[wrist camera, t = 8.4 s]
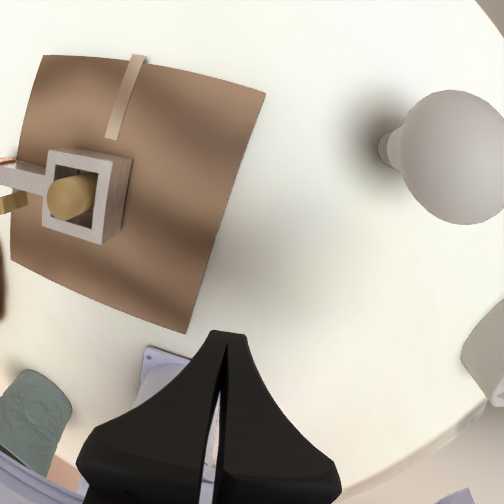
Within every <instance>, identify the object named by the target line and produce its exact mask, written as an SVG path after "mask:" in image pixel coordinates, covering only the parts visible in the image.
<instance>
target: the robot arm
mask: <svg viewBox="0 0 504 504" xmlns="http://www.w3.org/2000/svg"><path fill="white" fill-rule="evenodd" d="M148 355H150V356H151V357H149V356H148ZM219 409H220V414H219V446H218V455H217V463H216V469H215V468H212V467H211V462H212V454H213V446H214V438H215V430H216V422H217V415H218V411H219ZM76 466H77V468H78V470H79V472H80V473H81V478H80V481H79V485H78V488H77V493H75V492H73V491H71V490H68V489H66V488H64V487H62V486H60V485H58V484H56V483H54V482H52V481H50V480H48V479H46V478H44V477H42V476H41V475H39V474H37V473H35V472H33V471H32V470H30V469H28V468H26V467H25V466H23V465H22V464H20V463H18V462H17V461H15V460H13V459H12V458H10V457H9V456H7V455H6V454H4V453H3V452H1V451H0V504H331V503H332V502H333V501H334V500H336V499H337V498H338V496H339V495H340V494H341V493H342V486H341V481H340V477H339V474H338V472H337V469H336V466H335V464H334V462H333V461H332V460H331V459H330V458H328V457H327V456H326V455H324V454H323V453H322V452H321V451H319V450H318V449H317V448H316V447H314V446H313V445H312V444H311V443H310V442H309V441H308V440H307V439H306V438H305V437H304V436H303V435H302V434H301V433H300V432H299V431H298V430H297V429H296V428H295V427H294V425H293V424H292V423H291V422H290V421H289V420H288V419H287V417H286V416H285V415H284V414H283V412H282V411H281V410H280V408H279V407H278V405H277V404H276V402H275V401H274V399H273V398H272V396H271V395H270V393H269V391H268V390H267V388H266V386H265V384H264V382H263V380H262V378H261V376H260V374H259V372H258V370H257V368H256V365H255V363H254V360H253V358H252V355H251V352H250V349H249V345H248V341H247V337H246V336H245V335H244V334H238V333H231V332H225V331H218V330H212V331H210V333H209V335H208V337H207V339H206V340H205V342H204V343H203V345H202V346H201V348H200V349H199V351H198V352H197V353H196V354H195V356H194V357H193V358H192V359H191V360H188V359H185V358H182V357H179V356H176V355H173V354H170V353H167V352H164V351H161V350H158V349H156V348H153V347H147V348H146V349H145V352H144V358H143V364H142V371H141V377H140V384H139V392H138V394H137V397H136V399H135V402H134V404H133V407H132V409H131V410H130V411H128V412H127V413H125V414H123V415H121V416H119V417H117V418H115V419H113V420H110V421H108V422H106V423H104V424H101V425H99V426H96V427H95V428H94V429H93V431H92V432H91V434H90V435H89V436H88V438H87V439H86V441H85V442H84V444H83V446H82V449H81V451H80V453H79V455H78V458H77V460H76ZM435 504H475V503H474V501H473V498H472V496H471V494H470V491H469V489H468V488H464V489H462V490H460V491H457V492H455V493H452V494H450V495H448V496H446V497H444V498H442V499H441V500H439V501H438V502H436V503H435Z"/></svg>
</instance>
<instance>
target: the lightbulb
mask: <svg viewBox="0 0 504 504" xmlns="http://www.w3.org/2000/svg"><path fill="white" fill-rule="evenodd" d="M378 152H379V156H380V158H381V160H382V161H383V162H384V163H385V164H386V165H387V166H389V167H391V168H394V169H395V170H396V171H398V172H399V173H400V174H402V175H403V178H404V180H405V182H406V184H407V186H408V188H409V190H410V192H411V193H412V194H413V196H414V197H415V199H416V200H417V201H418V202H419V203H420V204H421V205H422V206H423V207H424V208H425V209H426V210H427V211H428V212H430V213H431V214H433V215H434V216H436V217H438V218H440V219H442V220H444V221H447V222H450V223H453V224H461V225H471V224H477V223H482V222H484V221H486V220H488V219H490V218H492V217H493V216H495V215H497V214H498V213H499V212H500V211H501V210H502V209H503V208H504V119H503V117H502V116H501V115H500V114H499V113H498V112H497V111H496V110H495V109H494V108H493V107H492V106H491V105H490V104H489V103H488V102H486V101H485V100H483V99H482V98H480V97H477V96H475V95H473V94H470V93H467V92H464V91H457V90H445V91H440V92H436V93H432V94H430V95H428V96H426V97H425V98H423V99H422V100H420V101H419V102H418V103H417V104H416V105H415V106H414V107H413V108H412V109H411V110H410V111H409V113H408V115H407V116H406V118H405V120H404V123H403V125H402V126H400V127H398V128H397V129H395V130H393V131H390V132H387V133H385V134H384V135H383V136H382V137H381V139H380V141H379V144H378Z"/></svg>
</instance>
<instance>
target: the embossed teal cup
mask: <svg viewBox="0 0 504 504" xmlns="http://www.w3.org/2000/svg"><path fill="white" fill-rule="evenodd" d="M71 413H72V406H71V405H70V402H69V400H68V399H67V398H66V396H65V395H64V394H63V393H62V391H61V390H60V389H59V388H58V387H57V386H56V385H55V384H54V383H53V382H51V381H50V380H49V379H48V378H46V377H45V376H43V375H41V374H40V373H38V372H35V371H32V370H25V371H23V372H22V373H21V374H20V375H19V376H18V377H17V379H16V380H15V381H14V382H13V383H12V384H11V385H10V386H9V387H8V388H7V389H6V391H5V392H4V393H3V396H1V397H0V451H1V452H3V453H4V454H6V455H7V456H9V457H10V458H12V459H13V460H15V461H17V462H18V463H20V464H22V465H23V466H25V467H26V468H28V469H30V470H32V471H33V472H35V473H37V474H39V475H41V476H42V477H44V478H46V477H47V474H48V471H49V468H50V465H51V461H52V458H53V456H54V453H55V451H56V448H57V444H58V442H59V441H60V438H61V436H62V433H63V430H64V428H65V425H66V424H67V422H68V420H69V418H70V416H71Z"/></svg>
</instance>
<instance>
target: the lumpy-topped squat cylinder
mask: <svg viewBox="0 0 504 504" xmlns="http://www.w3.org/2000/svg"><path fill="white" fill-rule="evenodd" d="M461 361H462V363H463V365H464V366H465V368H466V369H467V370H468V372H469V373H470V374H471V376H472V377H473V379H474V380H475V381H476V383H477V384H478V385H479V387H480V388H481V390H482V391H483V393H484V394H485V396H486V397H487V398H488V400H489V401H490V403H491V404H492V405H493V406H495V407H503V406H504V299H503V300H502V301H500V302H499V303H498V304H497V305H496V306H495V307H494V308H493V309H492V310H491V311H490V312H489V313H488V314H487V315H486V316H485V317H484V318H483V319H482V320H481V321H480V322H479V323H478V325H477V326H476V327H475V329H474V330H473V331H472V333H471V334H470V335H469V337H468V339H467V340H466V342H465V344H464V346H463V348H462V351H461Z"/></svg>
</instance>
